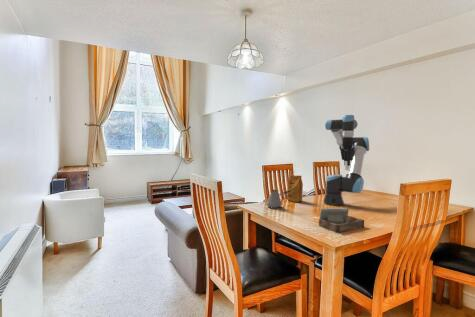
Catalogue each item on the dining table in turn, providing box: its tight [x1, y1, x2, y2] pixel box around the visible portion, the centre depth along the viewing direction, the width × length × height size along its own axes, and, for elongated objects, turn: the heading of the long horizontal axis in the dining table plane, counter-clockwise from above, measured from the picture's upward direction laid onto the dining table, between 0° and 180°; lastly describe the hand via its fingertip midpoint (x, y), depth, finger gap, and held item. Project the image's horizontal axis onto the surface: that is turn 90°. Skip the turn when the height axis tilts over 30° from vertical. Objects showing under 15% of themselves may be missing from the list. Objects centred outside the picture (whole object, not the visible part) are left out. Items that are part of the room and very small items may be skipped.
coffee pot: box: [266, 189, 293, 209], centre depth 191 cm, size 21×12×15 cm, turn 46°
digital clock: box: [319, 207, 349, 225], centre depth 151 cm, size 16×9×11 cm, turn 78°
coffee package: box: [286, 174, 304, 203], centre depth 216 cm, size 10×12×22 cm
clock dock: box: [318, 215, 365, 234], centre depth 149 cm, size 14×22×4 cm, turn 118°
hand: (347, 170), depth 183 cm, fingers closed
